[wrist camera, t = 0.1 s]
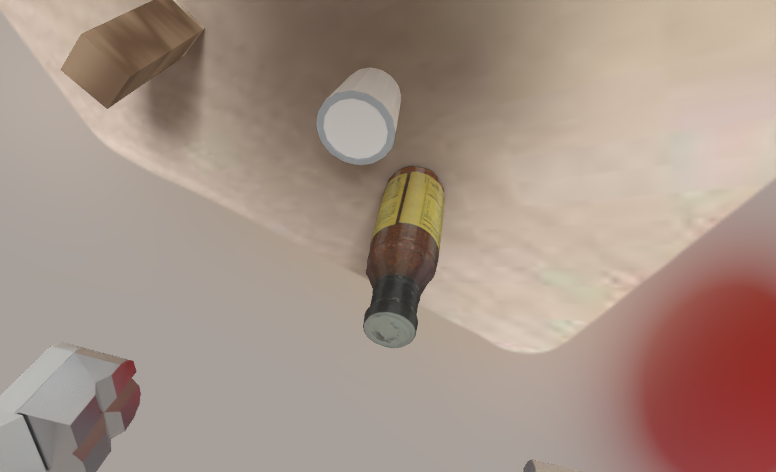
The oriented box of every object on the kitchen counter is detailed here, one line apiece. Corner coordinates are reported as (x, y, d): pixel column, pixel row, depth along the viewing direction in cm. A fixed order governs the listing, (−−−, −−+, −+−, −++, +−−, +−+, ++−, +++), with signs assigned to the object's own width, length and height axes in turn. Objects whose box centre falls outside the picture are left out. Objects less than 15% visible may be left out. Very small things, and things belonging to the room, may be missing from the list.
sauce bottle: (392, 213, 55) (349, 357, 40) (383, 164, 52) (331, 302, 36) (451, 211, 54) (430, 361, 38) (446, 160, 50) (420, 303, 35)
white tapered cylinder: (408, 132, 49) (396, 168, 43) (340, 128, 50) (320, 163, 45) (407, 61, 45) (394, 92, 39) (333, 59, 46) (310, 89, 40)
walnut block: (148, 23, 47) (60, 69, 38) (168, -8, 45) (81, 34, 35) (183, 56, 48) (107, 108, 39) (204, 28, 46) (129, 77, 37)
